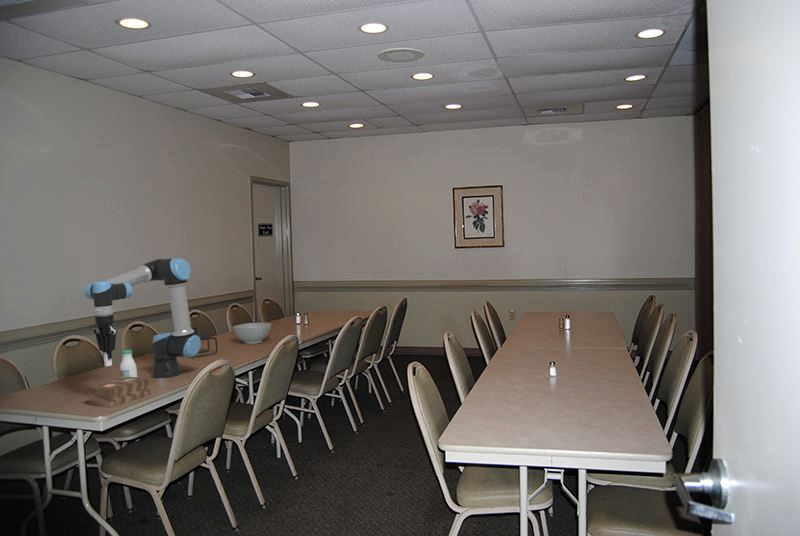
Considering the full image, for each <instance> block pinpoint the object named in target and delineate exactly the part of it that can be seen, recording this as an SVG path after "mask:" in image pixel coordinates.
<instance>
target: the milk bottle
mask: <svg viewBox="0 0 800 536" xmlns="http://www.w3.org/2000/svg"><path fill="white" fill-rule="evenodd" d="M121 356H122V359H121V362H120V365H119V375H120V376H119V379H121V378H125V377H138V370H137V369H138V368H137V364H136V362H135V360H134V358H133V351H132V349H124V350H121Z"/></svg>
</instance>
